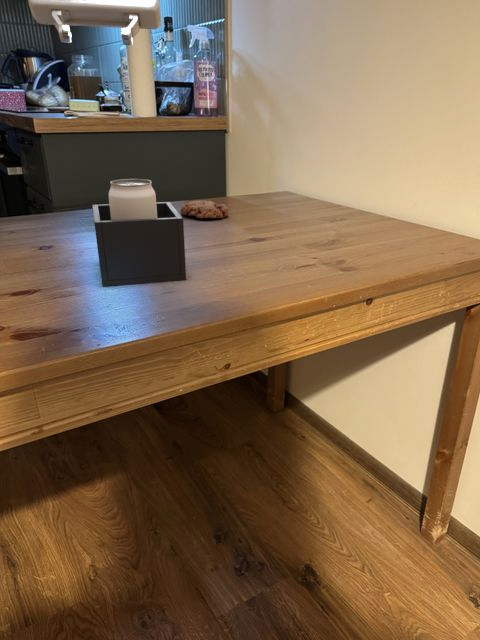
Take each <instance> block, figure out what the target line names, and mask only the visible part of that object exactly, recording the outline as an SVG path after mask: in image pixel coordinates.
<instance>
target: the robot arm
mask: <svg viewBox="0 0 480 640" xmlns="http://www.w3.org/2000/svg"><path fill="white" fill-rule="evenodd" d="M27 3H28V6H29V9H30V12H31V15H32V17H33V19H34V20H35V21H36V22H37V23H38V24H41V25H54V27H55V29H56V30H57V32H58V37H59V40H60V43H72V32H71V29H70V26H78V27H100V28H118V29H119V28H121V40H122V46H133V43H134V42H133V39H134V38H135V37H136V36H137V35H138V34H139V33H140V32H141V31H140V30H158V29H159V28H160V27H161V25H162V13H161V2H160V0H27Z"/></svg>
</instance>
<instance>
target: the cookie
mask: <svg viewBox="0 0 480 640" xmlns="http://www.w3.org/2000/svg"><path fill="white" fill-rule="evenodd" d="M179 213H180V215H181V216H182V215H183V216H186V217H195V218H197V219H208V218H209V219H224V218H226V217H228V216H229V207H227V206H226V205H225V204H224V203H220V204H219V203H216V202H214V201H212V200H203V199H202V200H199V199H198V200H192V201H188V202H187V203H183V204H182V205H181V206H180V210H179Z"/></svg>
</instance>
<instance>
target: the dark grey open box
mask: <svg viewBox="0 0 480 640" xmlns="http://www.w3.org/2000/svg"><path fill="white" fill-rule="evenodd" d="M156 205H157V218H153V219H132V220H111V214H110V206H109V203H105V204H104V203H103V204H92V205H91V206H92V215H93V225H94V231H95V233H94V234H95V239H96V248H97V255H98V262H99V271H100V279H101V285H102V287H115V285H116V286H126V285H137V284H139V283H140V284H149V282H152V283H162V281H164V282H174V281H175V282H176V281H186V280H187V269H186V268H187V267H186V265H187V264H186V247H185V227H184V224H185V223H184V218H183V217H182V214H181V213H180V212H179V211H178V210H177V208H176V207H175V206H174V205H173V204H172V203H171V202H170V201H160V202H159V201H158V202H157V201H156Z"/></svg>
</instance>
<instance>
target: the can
mask: <svg viewBox="0 0 480 640" xmlns="http://www.w3.org/2000/svg"><path fill="white" fill-rule="evenodd" d="M109 184H110V188H109V190H108V204H109V206H110V214H111V220H132V219H153V218H157V205H156V202H157V196H156V191H155V189H154V188H153V186H152V180H150V179H143V178H121V179H115V180H114V179H113V180H111V181H110V183H109Z"/></svg>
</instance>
